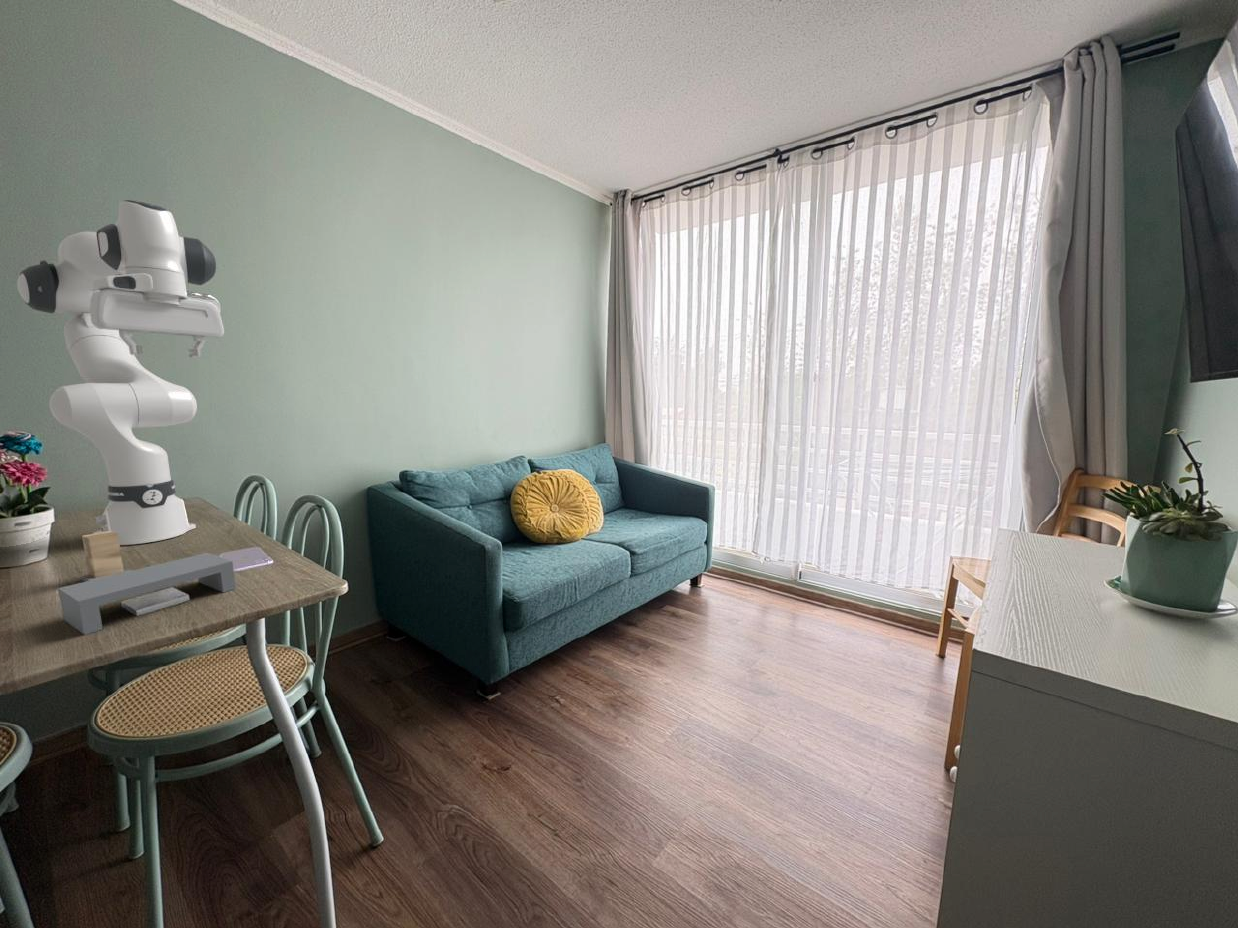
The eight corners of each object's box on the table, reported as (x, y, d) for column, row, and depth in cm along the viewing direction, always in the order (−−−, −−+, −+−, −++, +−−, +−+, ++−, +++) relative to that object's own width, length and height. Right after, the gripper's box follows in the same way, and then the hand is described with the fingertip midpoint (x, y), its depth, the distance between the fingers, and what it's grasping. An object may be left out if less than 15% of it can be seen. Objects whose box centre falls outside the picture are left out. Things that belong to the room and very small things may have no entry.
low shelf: (63, 619, 79) (58, 588, 78) (211, 578, 97) (208, 552, 96) (84, 634, 74) (78, 601, 74) (235, 588, 92) (232, 561, 91)
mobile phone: (258, 545, 115) (274, 560, 105) (258, 549, 116) (275, 564, 106) (217, 552, 110) (230, 569, 100) (218, 557, 110) (231, 574, 100)
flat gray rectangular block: (122, 609, 84) (120, 601, 84) (173, 594, 90) (172, 587, 90) (137, 618, 81) (136, 610, 81) (190, 602, 87) (188, 594, 87)
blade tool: (82, 580, 95) (74, 537, 94) (123, 570, 101) (117, 529, 99) (112, 597, 88) (104, 550, 86) (155, 586, 93) (148, 541, 92)
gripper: (212, 297, 109) (219, 359, 111) (81, 279, 91) (93, 353, 93) (225, 294, 106) (233, 358, 108) (92, 275, 88) (105, 352, 90)
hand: (167, 356), depth 101 cm, fingers open, 8 cm apart
